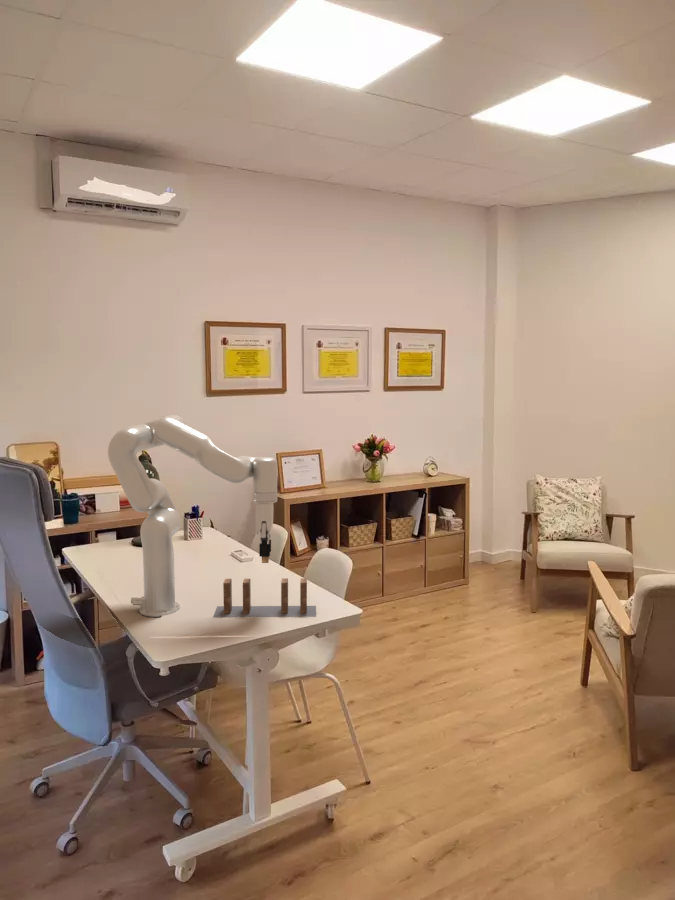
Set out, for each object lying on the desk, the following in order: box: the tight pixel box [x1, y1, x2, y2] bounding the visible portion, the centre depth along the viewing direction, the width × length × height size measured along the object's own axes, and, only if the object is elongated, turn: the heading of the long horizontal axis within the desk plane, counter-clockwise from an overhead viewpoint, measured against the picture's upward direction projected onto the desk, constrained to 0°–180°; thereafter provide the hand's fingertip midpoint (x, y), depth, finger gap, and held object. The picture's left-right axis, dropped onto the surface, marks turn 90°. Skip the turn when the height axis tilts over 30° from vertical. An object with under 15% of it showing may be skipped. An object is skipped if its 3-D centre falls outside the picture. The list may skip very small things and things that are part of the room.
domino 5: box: [299, 578, 308, 614], centre depth 219 cm, size 2×5×10 cm, turn 2°
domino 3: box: [261, 532, 270, 564], centre depth 216 cm, size 2×5×10 cm, turn 2°
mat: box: [212, 605, 317, 618], centre depth 219 cm, size 32×10×1 cm, turn 92°
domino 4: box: [280, 578, 289, 614], centre depth 219 cm, size 2×5×10 cm, turn 2°
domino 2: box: [242, 578, 252, 614], centre depth 218 cm, size 2×5×10 cm, turn 2°
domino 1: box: [222, 578, 233, 614], centre depth 218 cm, size 2×5×10 cm, turn 2°
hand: (265, 553), depth 217 cm, fingers closed on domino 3, 4 cm apart
